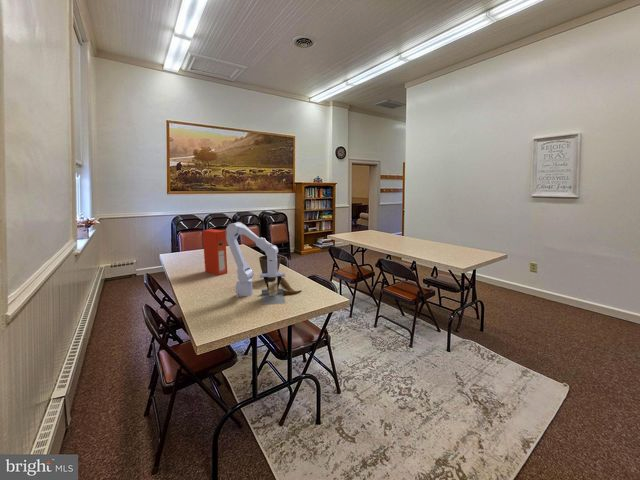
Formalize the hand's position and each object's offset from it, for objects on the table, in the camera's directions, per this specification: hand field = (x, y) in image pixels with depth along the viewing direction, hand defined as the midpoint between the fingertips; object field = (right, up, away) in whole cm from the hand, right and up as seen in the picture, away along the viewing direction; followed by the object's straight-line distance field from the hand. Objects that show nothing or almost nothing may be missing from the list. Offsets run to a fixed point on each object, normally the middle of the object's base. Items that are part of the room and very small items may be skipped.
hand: (272, 289), depth 180 cm
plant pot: (-7, +1, +36) cm, 36 cm away
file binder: (-51, +4, +53) cm, 73 cm away
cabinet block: (0, -2, 0) cm, 2 cm away
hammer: (+7, -3, +18) cm, 19 cm away
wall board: (+1, -6, -3) cm, 6 cm away
